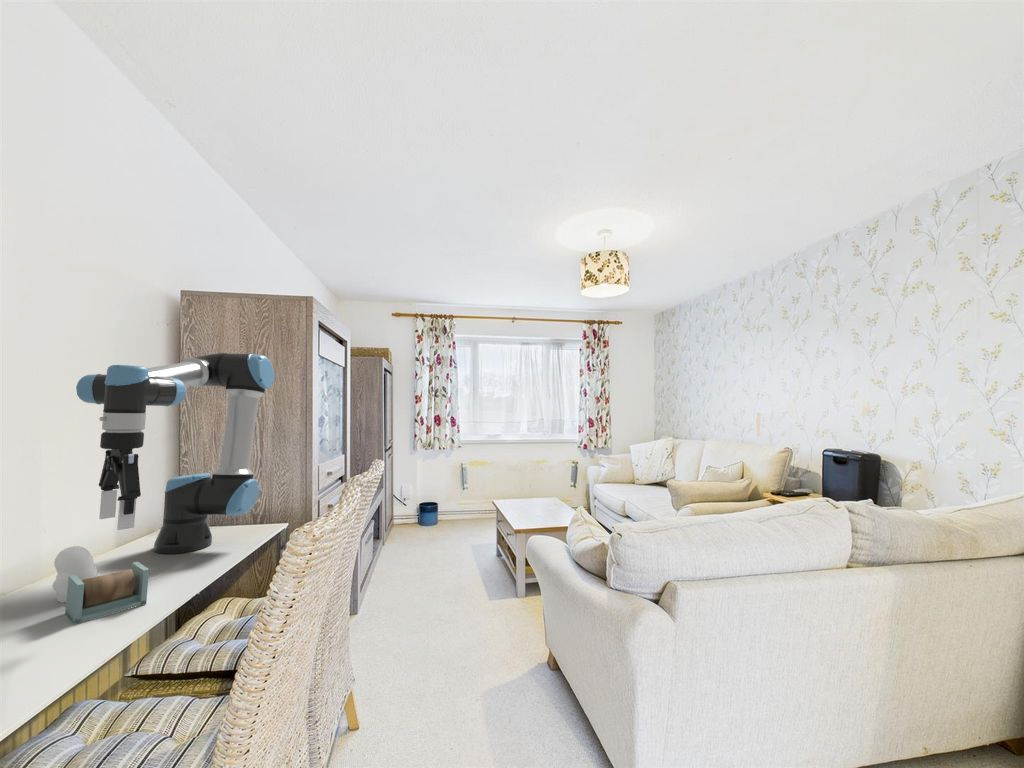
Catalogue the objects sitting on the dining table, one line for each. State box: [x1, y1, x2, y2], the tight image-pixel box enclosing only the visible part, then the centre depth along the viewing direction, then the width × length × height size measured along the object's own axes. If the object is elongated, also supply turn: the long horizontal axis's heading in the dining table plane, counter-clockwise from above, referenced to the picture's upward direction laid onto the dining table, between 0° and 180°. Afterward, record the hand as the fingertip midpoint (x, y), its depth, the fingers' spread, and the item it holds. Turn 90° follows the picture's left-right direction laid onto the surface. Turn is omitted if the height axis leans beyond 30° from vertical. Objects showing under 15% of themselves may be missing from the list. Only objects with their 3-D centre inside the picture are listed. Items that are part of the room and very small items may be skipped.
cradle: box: [64, 561, 150, 625], centre depth 99 cm, size 12×8×8 cm, turn 146°
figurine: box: [52, 546, 98, 603], centre depth 104 cm, size 7×8×12 cm
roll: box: [82, 568, 134, 608], centre depth 99 cm, size 8×6×6 cm
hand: (116, 523), depth 100 cm, fingers open, 13 cm apart
